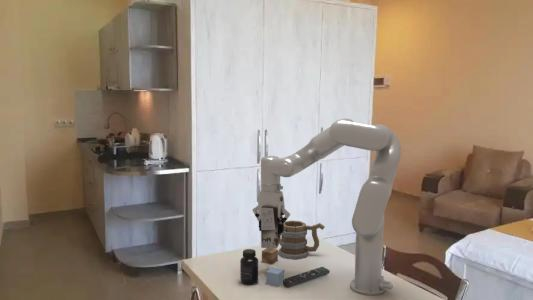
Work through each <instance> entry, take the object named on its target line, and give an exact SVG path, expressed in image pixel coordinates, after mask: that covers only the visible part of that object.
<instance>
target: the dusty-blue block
mask: <svg viewBox="0 0 533 300" xmlns="http://www.w3.org/2000/svg"><path fill="white" fill-rule="evenodd" d="M283 280H284V281H285V269H284V268H283V269H282V268H278V267H273V266H272V267H271V268H269V269H268V270H266V271H265V284H266V285H268V286H272V287H275V288H279V287H280V286H282V285H283V284H282V282H283Z"/></svg>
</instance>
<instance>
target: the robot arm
mask: <svg viewBox="0 0 533 300" xmlns="http://www.w3.org/2000/svg"><path fill="white" fill-rule="evenodd" d="M400 143H401V142H400V140H399V138H398V136H397V135H396V133H395V132H394V131H393V130H392V129H391V128H390V127H388V126H386V125H385V124H380V123H379V124H378V123H377V124H373V125H372V124H366V123H361V122H360V123H359V122H356V121H354V120H352V119H350V118H340V119H337V120H336V121H334V122H333V123H331V126H329V127H328V128H326V129H325V130H323V131H322V132H320V133H318V134H316V135H315V136H313V137H312V138H311V139H310V141H309V142H308V143H307V144H306V145H305V146H303V147H302V148H301V149H298V150H297V151H296V152H294V153H292V154H290V155H287V156H285V157H279V156H275V155H265V156H262V157H261V159H260V190H259V194H258V200H257V205H256V207H254V208H252V212H253V214H254V216H255V218H256V220H257V221H258V228H259V229H258V230H259V232H261V207H262V206H266V207H276V208H277V217H278V222H279V224H278V234H281V233H283V231H284V222H285V221H288V219H289V217H290V216H291V213H290V212H289V211H288V210H287V209H286V208H285V207H286V205H285V198H284V192H283V191H282V190H283V189H284V186H282V185H281V184H282V183H281V178H282V177H283V178H291V177H293V176H295V175H297V174H299V173H301V172H302V171H304V170H305V169H307V168H308V167H310V166H312V165H314V164H315V163H317V162H318V161H320V160H323V159H325V158H326V157H328V156H330V155H332V153H335V152H336V151H337V150H339V149H341V148H342V147H344V146H346V147H350V148H355V149H360V150H365V151H372V152H375V154H374V155H375V156H374V160H373V162H372V166H371V170H370V172H369V175H368V178H367V179H366V181H365V182H364V184H362V186H361V189H360V192H359V194H358V196H357V201H356V204H355V206H354V207H355V208H354V211H353V215H352V218H351V225H352V228H353V231H354V232H355V250H354V251H355V253H354V256H355V257H354V258H355V259H354V279H352V280H351V281H350V283H349V286H350V289H351V290H352V291H354V292H356V293H358V294H360V295H367V296H376V295H382V294H383V293H384V292H385V291H386V290H390V291H393V288H394V285H393V284H392V282H391V281H388V280H385V279H384V278H385V277H384V276H383V275H382V274H383V273H382V271H383V270H382V269H383V268H382V267H383V246H384V244H383V243H384V242H383V241H384V230H385V211H386V208H387V205H388V201H389V199H390V197H391V195H392V191H393V185H394V181H395V178H396V176H397V172H398V168H399V164H400V160H401V155H402V151H401V144H400Z"/></svg>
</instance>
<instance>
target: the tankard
mask: <svg viewBox="0 0 533 300" xmlns="http://www.w3.org/2000/svg"><path fill="white" fill-rule="evenodd" d="M318 229H321V230H322V231H323V230H324V229H325V225H324V224H322V223H321V222H319V223H316V224H313V225H307V224H306V223H305V222H303V221H300V220H286V221H285V222H284V231H283V233H281V242H280V244H279V246H280V248H279V249H278V256H280V257H282V258H283V259H289V260H301V259H305V258H307V256H308V255H309V253H310V252H311V253H312V252H314V253H315V252H317V250H318V248H319V246H320V240H319V236H318V231H317V230H318ZM308 231H311V236H312V240H313V242H314V244H313V246H308V239H307V238H306V237H307V234H308Z"/></svg>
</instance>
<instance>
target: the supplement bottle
mask: <svg viewBox="0 0 533 300" xmlns="http://www.w3.org/2000/svg"><path fill="white" fill-rule="evenodd" d="M256 255H257V253H256V250H255V249H254V248H247V249H243V251H242V257H241V259H240V260H239V261H240V262H239V264H240V265H239V268H240V269H239V271H240V272H239V273H240V275H239V277H240V278H239V279H240V280H239V281H240V283H241V284H243V285H246V286H248V285H249V286H251V285H256V284H257V283H258V282H259V259H258V257H257V256H256Z"/></svg>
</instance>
